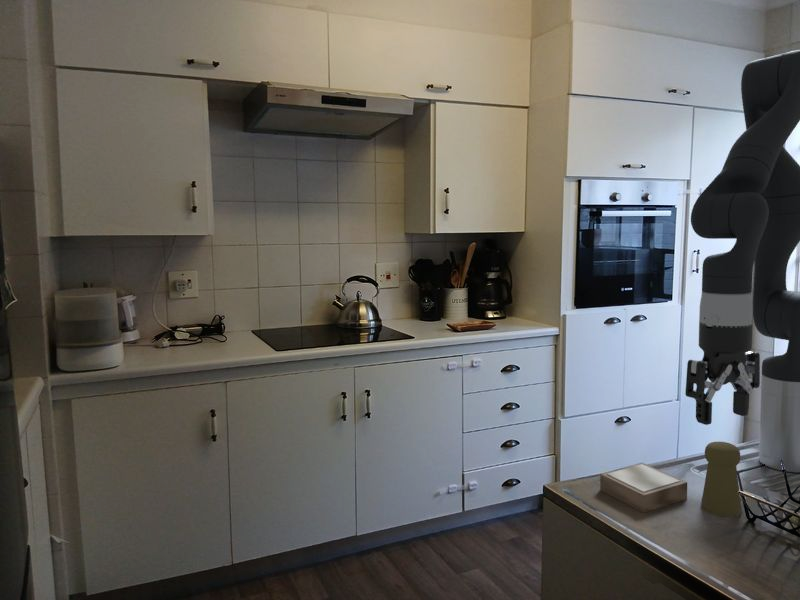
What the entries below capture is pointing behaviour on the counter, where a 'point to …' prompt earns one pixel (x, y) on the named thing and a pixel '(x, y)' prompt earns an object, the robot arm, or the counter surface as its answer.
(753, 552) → the counter surface
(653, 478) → the base block
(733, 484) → the cork
